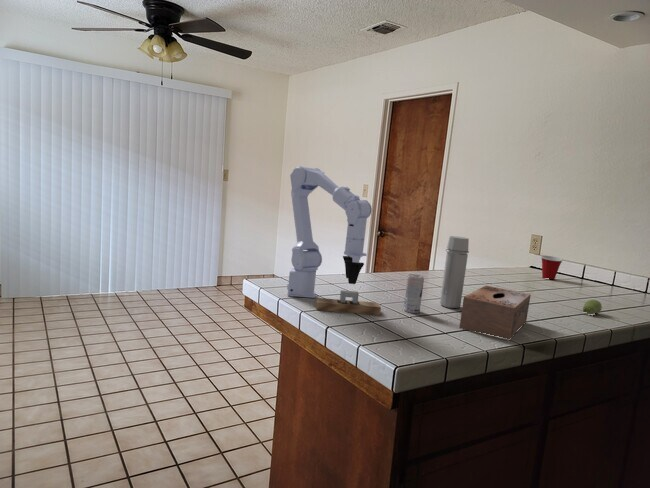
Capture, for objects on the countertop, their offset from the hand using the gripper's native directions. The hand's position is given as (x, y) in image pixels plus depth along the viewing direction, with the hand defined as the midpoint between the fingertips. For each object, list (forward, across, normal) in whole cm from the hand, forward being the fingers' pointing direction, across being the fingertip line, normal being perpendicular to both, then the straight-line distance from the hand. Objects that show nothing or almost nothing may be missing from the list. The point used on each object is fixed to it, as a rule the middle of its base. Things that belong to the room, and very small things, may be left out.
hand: (350, 280), depth 143 cm
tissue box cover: (+10, -4, -47) cm, 48 cm away
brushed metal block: (+9, -1, 0) cm, 9 cm away
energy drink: (+10, +4, -22) cm, 24 cm away
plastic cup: (+10, +92, -119) cm, 150 cm away
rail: (+9, -1, 0) cm, 9 cm away
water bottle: (+10, +15, -38) cm, 42 cm away
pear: (+10, +22, -96) cm, 99 cm away
